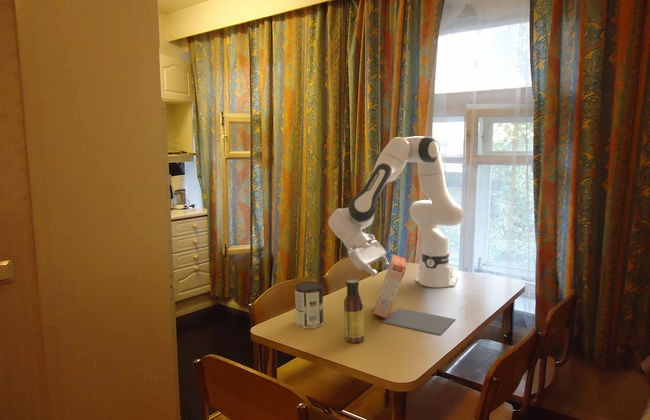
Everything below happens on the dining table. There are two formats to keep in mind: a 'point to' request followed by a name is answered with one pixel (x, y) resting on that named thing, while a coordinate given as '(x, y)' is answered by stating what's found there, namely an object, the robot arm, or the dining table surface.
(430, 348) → the dining table surface
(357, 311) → the sauce bottle
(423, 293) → the dining table surface
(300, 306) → the coffee can
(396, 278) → the cracker box
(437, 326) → the mat
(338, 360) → the dining table surface
